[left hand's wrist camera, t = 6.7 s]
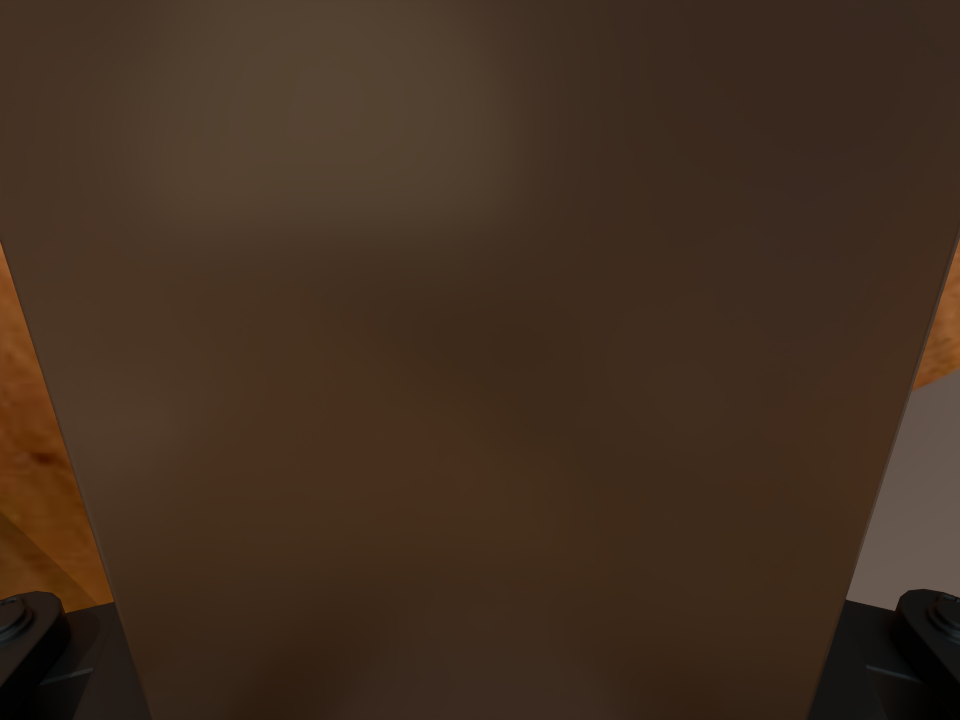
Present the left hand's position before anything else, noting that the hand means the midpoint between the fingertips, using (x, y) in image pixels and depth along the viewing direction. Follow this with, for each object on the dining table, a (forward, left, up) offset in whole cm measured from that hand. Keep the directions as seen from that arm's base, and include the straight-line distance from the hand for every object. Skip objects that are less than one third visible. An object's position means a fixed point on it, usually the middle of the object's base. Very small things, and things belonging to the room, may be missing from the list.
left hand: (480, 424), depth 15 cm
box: (+7, 0, -2) cm, 7 cm away
